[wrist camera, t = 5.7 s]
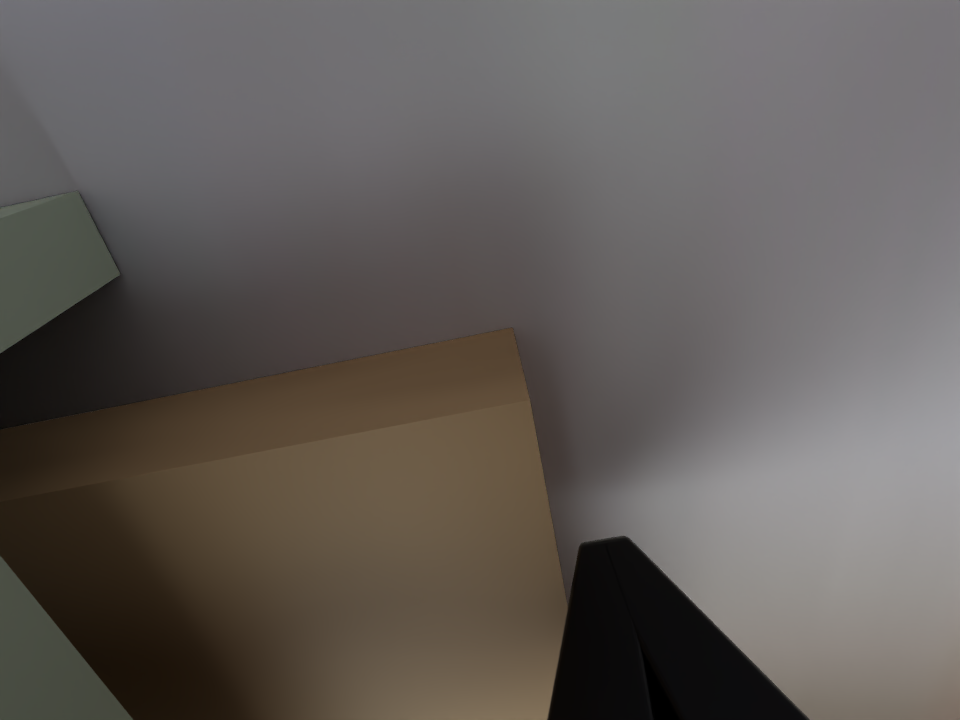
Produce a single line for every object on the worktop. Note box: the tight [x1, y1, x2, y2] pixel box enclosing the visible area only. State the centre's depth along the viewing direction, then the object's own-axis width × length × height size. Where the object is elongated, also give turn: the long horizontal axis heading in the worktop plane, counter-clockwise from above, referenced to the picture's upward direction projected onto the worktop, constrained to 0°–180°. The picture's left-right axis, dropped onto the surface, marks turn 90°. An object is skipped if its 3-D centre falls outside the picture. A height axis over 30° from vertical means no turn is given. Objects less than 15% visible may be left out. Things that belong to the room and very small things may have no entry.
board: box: [0, 328, 568, 720], centre depth 9 cm, size 7×10×2 cm
